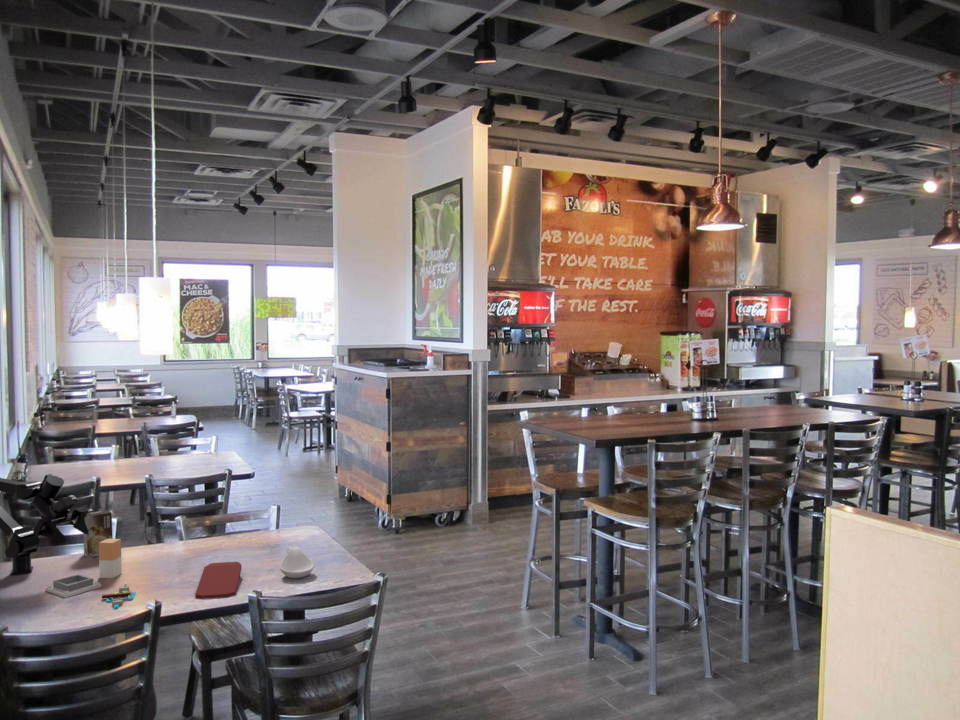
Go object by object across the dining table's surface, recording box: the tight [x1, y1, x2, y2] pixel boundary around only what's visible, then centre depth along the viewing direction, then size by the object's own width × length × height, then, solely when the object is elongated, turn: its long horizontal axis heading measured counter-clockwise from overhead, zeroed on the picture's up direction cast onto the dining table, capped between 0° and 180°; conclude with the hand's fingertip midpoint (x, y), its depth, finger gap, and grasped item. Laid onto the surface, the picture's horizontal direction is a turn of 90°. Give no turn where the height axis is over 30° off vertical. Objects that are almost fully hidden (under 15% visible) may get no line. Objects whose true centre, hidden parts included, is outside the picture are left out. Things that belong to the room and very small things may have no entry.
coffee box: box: [82, 509, 113, 558], centre depth 285 cm, size 9×6×16 cm
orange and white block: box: [98, 538, 122, 579], centre depth 259 cm, size 5×5×12 cm
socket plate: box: [44, 573, 102, 598], centre depth 246 cm, size 12×12×3 cm
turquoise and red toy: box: [101, 582, 136, 610], centre depth 238 cm, size 20×5×9 cm
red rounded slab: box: [195, 561, 243, 599], centre depth 251 cm, size 12×5×26 cm
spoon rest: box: [279, 546, 315, 579], centre depth 266 cm, size 24×12×7 cm, turn 21°
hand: (76, 536), depth 255 cm, fingers open, 9 cm apart
